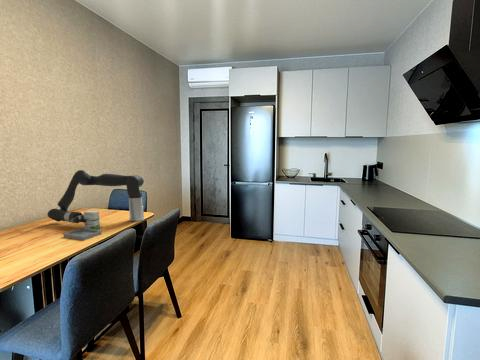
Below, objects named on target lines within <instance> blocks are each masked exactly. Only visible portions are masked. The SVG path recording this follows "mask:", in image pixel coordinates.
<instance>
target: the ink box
mask: <svg viewBox="0 0 480 360" xmlns="http://www.w3.org/2000/svg"><path fill="white" fill-rule="evenodd" d="M83 215H84V219H86V222H85V223H84V222H83V223H84V228H86V229H93V230H99V229H101V222H100V211H96V210H95V211H94V210H87V211H84V212H83Z"/></svg>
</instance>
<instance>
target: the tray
mask: <svg viewBox="0 0 480 360" xmlns="http://www.w3.org/2000/svg"><path fill="white" fill-rule="evenodd" d="M102 232H103V231H102V230H99V229H97V230H93V229H86V228H85V227H81V228H78V229H74V230H71V231H68V232H66V233H63V238H67V239H68V238H69V239H74V240H79V241H86V240H88V239H91V238H93V237H94V238H95V237H97V236H100V235H102V234H103V233H102Z"/></svg>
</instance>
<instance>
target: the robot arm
mask: <svg viewBox="0 0 480 360" xmlns="http://www.w3.org/2000/svg"><path fill="white" fill-rule="evenodd" d="M78 185H80V186H103V187H121V186H126V193H127V195H128V206H129V207H128V211H129V213H128V214H129V221H130V222H140V221H143V220H144V219H145V215H144V210H145V209H144V205H143V193H142V192H141V191H140V187H142V186H143V185H144V178H143V177H142V176H140V175H138V174H137V175H123V174H116V173H115V174H114V173H102V174H101V175H97V176H96V175H90V174H88V173H87V172H86V171H85V170H84V169H80V170H77V171H76V172H74V174H73V175H72V178H71V179H70V182H69V183H68V187H67V188H66V190H65V192H64V194H63V195H62V197H61V198H60V199H59V201H58V202H57V206H58V207H59V208H51V209H50V210H49V211H48V212H47V217H48V218H49V219H51V220H53V221H55V222H68V223H73V224H80V223H85V222H86V219H84V213H82V212H79V211H68V209H69V207H70V206H71V204H72V203H73V201H74V199H75V194H76V189H77V187H78Z"/></svg>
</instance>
